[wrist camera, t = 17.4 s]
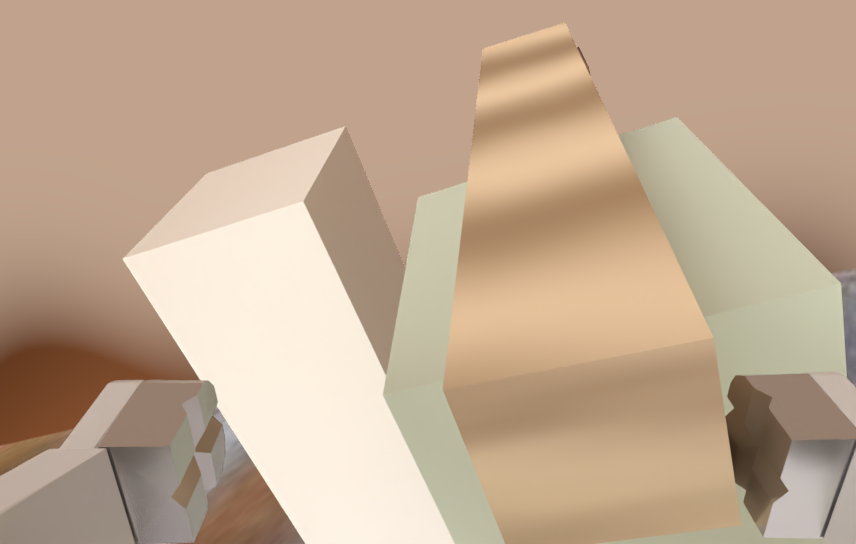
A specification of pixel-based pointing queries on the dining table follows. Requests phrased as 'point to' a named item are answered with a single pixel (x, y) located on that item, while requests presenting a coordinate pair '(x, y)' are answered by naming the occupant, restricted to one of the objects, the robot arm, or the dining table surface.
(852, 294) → the dining table surface
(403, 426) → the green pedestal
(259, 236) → the white pedestal
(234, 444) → the dining table surface
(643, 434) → the beech block
